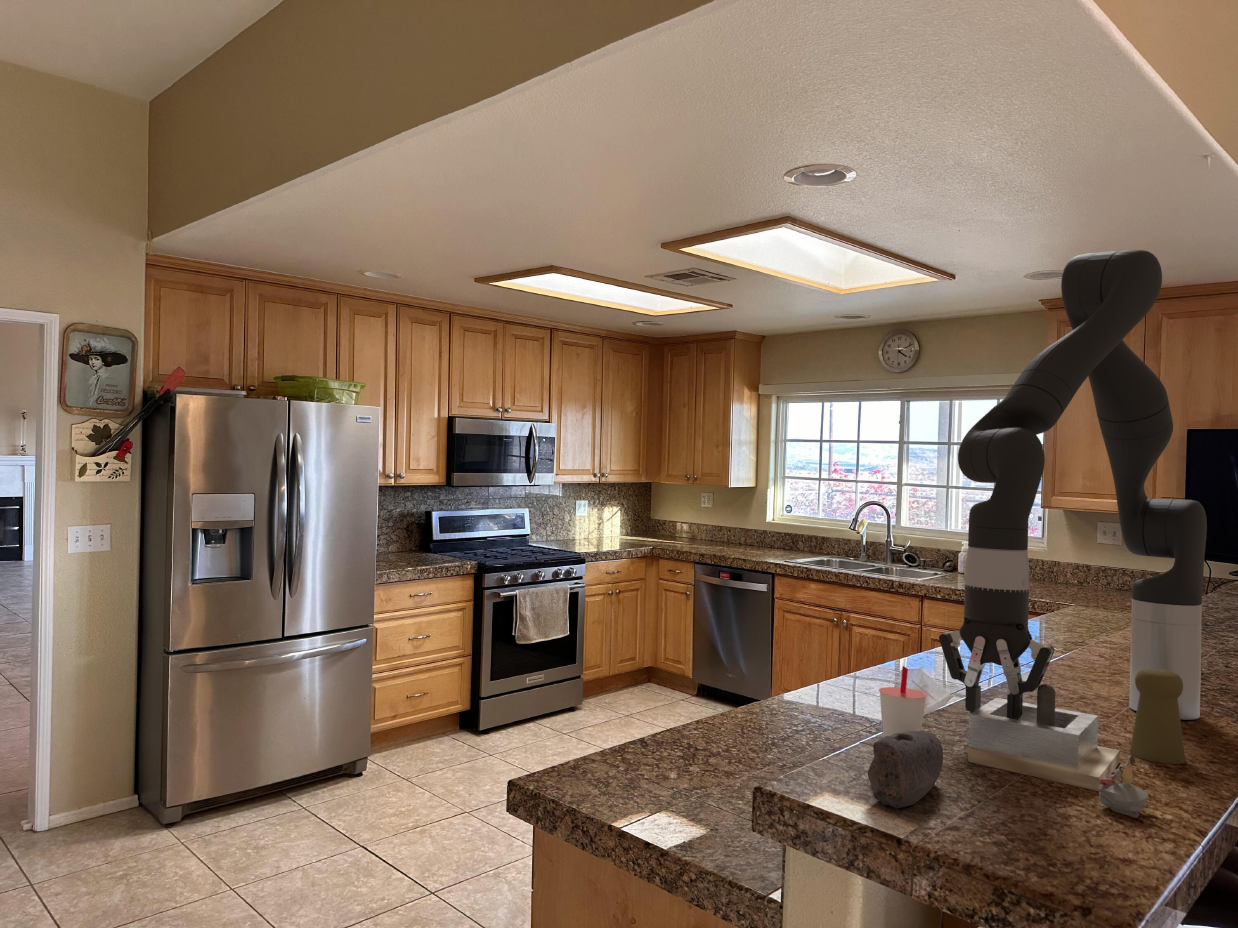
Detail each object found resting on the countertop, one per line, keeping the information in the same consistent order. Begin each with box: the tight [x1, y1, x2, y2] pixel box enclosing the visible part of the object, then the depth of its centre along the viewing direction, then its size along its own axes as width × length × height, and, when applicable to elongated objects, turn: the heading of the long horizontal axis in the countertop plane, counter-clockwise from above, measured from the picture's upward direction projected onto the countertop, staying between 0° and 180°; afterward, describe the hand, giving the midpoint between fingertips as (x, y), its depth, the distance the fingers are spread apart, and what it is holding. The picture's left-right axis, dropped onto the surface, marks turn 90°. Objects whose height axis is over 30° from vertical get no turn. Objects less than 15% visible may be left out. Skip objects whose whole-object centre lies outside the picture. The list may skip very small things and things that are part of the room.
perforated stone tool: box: [867, 730, 944, 809], centre depth 90 cm, size 15×5×7 cm, turn 138°
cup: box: [878, 665, 928, 738], centre depth 99 cm, size 5×5×12 cm
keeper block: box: [967, 683, 1121, 792], centre depth 103 cm, size 14×14×10 cm
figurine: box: [1098, 754, 1149, 819], centre depth 88 cm, size 5×4×6 cm
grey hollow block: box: [967, 697, 1099, 770], centre depth 104 cm, size 12×12×4 cm
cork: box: [1129, 668, 1187, 765], centre depth 108 cm, size 6×6×11 cm
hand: (992, 718), depth 107 cm, fingers open, 4 cm apart
